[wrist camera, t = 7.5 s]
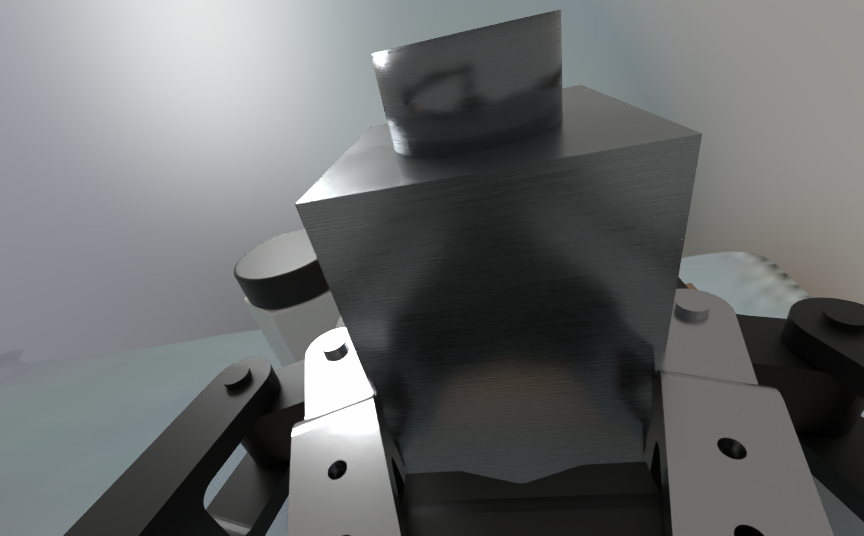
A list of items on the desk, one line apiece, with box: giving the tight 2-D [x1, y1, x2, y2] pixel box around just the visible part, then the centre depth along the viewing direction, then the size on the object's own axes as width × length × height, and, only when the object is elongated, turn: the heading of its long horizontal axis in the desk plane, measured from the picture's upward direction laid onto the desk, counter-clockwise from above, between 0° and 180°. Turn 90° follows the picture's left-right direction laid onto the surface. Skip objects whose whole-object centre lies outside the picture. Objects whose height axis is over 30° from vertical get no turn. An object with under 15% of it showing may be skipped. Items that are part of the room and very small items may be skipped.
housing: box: [295, 10, 702, 483], centre depth 9 cm, size 6×6×12 cm
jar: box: [234, 228, 341, 367], centre depth 31 cm, size 9×8×12 cm
